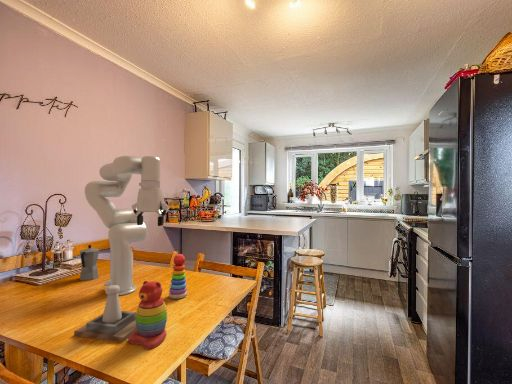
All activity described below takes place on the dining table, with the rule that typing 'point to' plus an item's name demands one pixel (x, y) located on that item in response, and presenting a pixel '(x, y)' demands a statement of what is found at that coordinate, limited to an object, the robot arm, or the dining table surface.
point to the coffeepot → (89, 264)
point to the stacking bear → (150, 317)
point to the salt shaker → (112, 306)
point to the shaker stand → (109, 328)
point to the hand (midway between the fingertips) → (150, 225)
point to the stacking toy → (178, 279)
